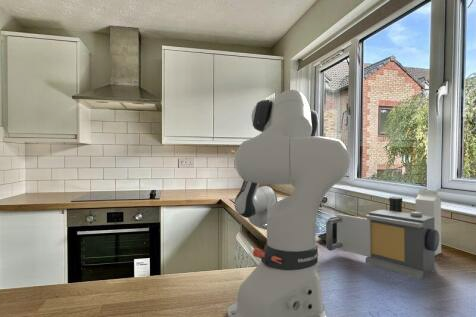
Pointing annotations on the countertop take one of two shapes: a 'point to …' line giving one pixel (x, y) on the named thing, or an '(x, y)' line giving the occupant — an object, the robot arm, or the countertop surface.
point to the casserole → (334, 233)
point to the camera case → (403, 242)
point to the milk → (430, 209)
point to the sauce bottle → (395, 204)
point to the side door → (350, 234)
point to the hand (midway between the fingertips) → (306, 228)
